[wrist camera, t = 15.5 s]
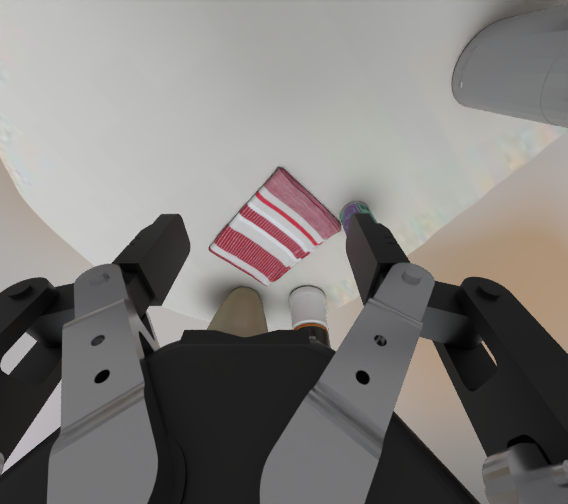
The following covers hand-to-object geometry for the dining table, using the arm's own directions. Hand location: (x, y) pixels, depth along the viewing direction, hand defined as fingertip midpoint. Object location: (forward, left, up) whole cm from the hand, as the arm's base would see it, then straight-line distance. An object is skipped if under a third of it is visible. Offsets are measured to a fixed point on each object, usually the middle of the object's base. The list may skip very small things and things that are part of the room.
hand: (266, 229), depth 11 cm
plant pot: (+10, +40, -30) cm, 51 cm away
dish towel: (+2, +21, -31) cm, 37 cm away
